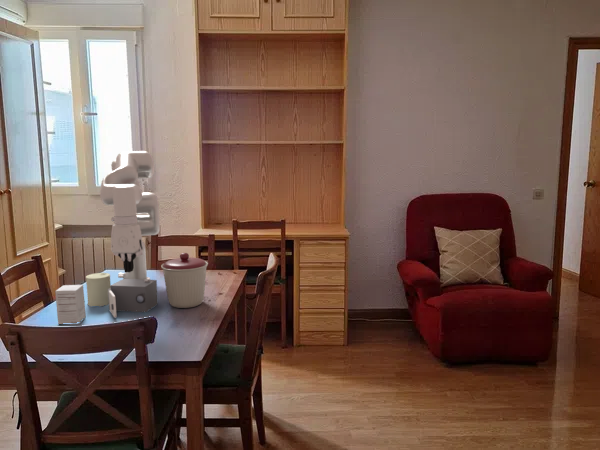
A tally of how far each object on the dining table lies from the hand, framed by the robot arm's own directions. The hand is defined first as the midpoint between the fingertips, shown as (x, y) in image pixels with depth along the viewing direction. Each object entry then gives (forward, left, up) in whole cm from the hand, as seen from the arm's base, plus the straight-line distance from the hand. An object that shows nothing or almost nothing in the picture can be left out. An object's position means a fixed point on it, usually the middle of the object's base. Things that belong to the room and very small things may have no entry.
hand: (128, 271), depth 172 cm
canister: (+13, +20, -18) cm, 30 cm away
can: (-23, +16, -18) cm, 33 cm away
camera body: (-6, +13, -18) cm, 23 cm away
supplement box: (-21, -5, -18) cm, 28 cm away
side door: (-10, +4, -18) cm, 21 cm away
